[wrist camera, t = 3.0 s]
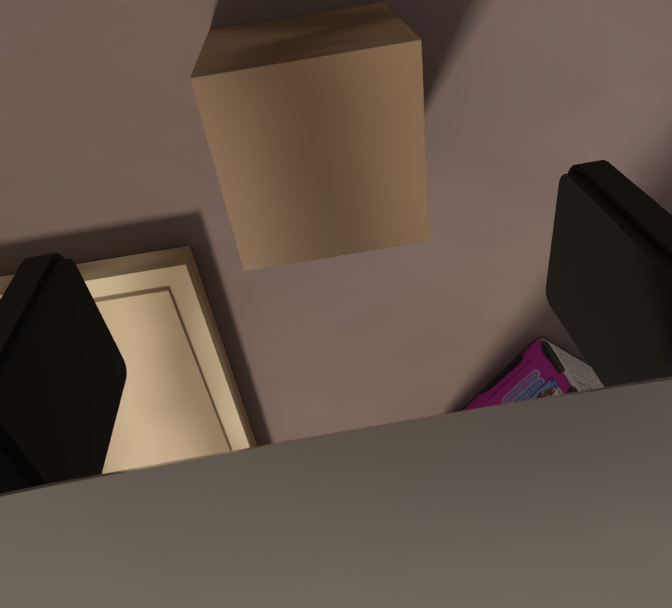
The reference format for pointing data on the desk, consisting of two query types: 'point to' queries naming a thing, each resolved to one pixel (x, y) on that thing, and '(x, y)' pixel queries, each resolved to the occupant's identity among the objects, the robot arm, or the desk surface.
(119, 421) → the board
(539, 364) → the candy bar box
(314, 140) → the cube
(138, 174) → the desk surface
